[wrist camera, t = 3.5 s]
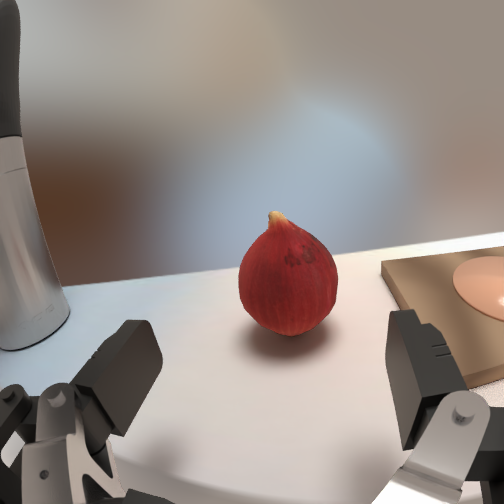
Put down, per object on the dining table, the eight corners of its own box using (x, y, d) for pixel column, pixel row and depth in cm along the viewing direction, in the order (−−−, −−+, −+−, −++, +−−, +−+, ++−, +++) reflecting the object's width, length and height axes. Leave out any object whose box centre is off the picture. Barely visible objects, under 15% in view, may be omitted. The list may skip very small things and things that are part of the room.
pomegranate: (340, 309, 21) (334, 196, 18) (336, 364, 16) (332, 225, 13) (261, 309, 23) (243, 202, 20) (237, 360, 18) (209, 232, 15)
